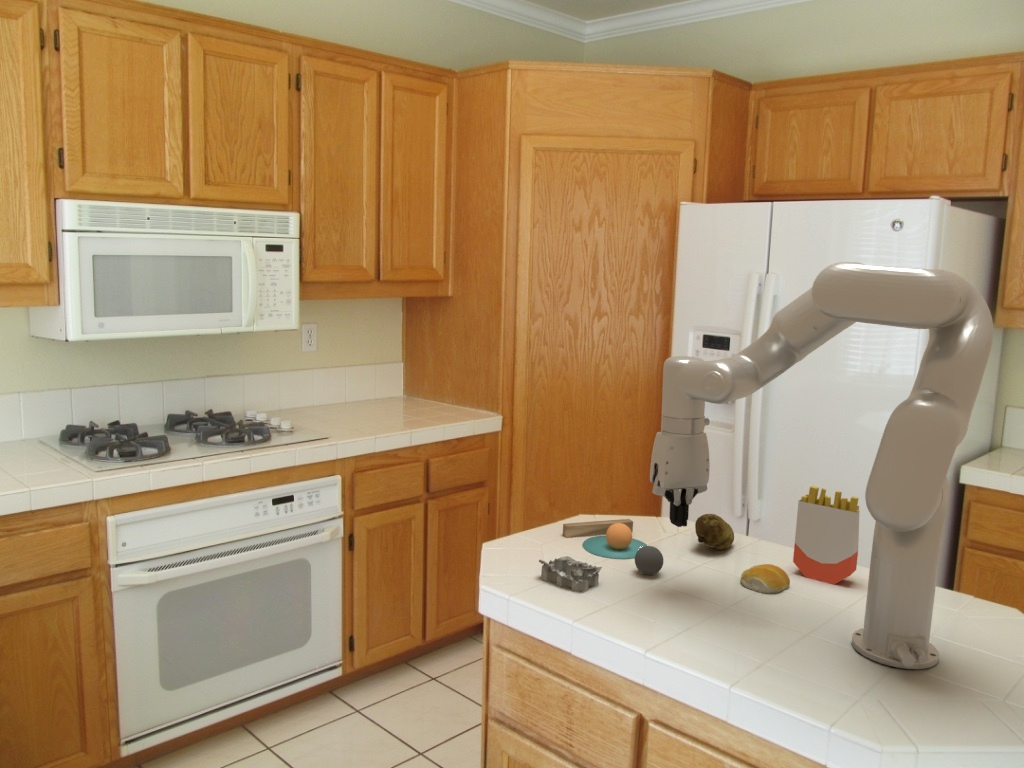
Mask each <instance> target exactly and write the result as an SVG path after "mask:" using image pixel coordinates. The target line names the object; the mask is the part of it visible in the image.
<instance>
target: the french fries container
mask: <svg viewBox="0 0 1024 768" xmlns="http://www.w3.org/2000/svg"><path fill="white" fill-rule="evenodd" d="M819 490H820V494H819ZM826 492H827V489H826V488H823V487H822V488H821V489H820V487H818V486H815V485H812V486H809V490H808V494H805V495H802V496H801V499H799V500H798V502H797V503H798V505H797V511H796V512H797V513H796V523H795V524H796V525H795V534H794V535H795V536H794V537H795V538H794V547H793V557H792V562H793V563H794V565H795V566H796V567H797V569H798V570H799V571H800V572H801V573H802V574H803V576H804V577H805V578H807V579H811V580H815V581H820V582H823V583H828V584H831V585H836V584H837V583H839V582H842V581H843V580H845V579H847V578H849V577H850V576H852V575H853V574H854V573H855V572H856V571H857V566H858V565H857V564H858V555H859V542H860V541H859V539H860V537H859V535H860V534H859V532H860V506H859V505H858V503H859V497H856V496H851V497H850V500H848V499H849V498H848V497H842V493H843V492H842V491H839V490H836V491H835V493H834V499H833V503H832V504H831V501H832V500H831V499H832V498H831V496H829V495H826V494H827V493H826ZM818 495H819V497H818Z"/></svg>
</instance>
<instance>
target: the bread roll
mask: <svg viewBox="0 0 1024 768" xmlns="http://www.w3.org/2000/svg"><path fill="white" fill-rule="evenodd" d="M740 583H741V584H742V586H743V585H744V586H743V587H744V588H746V587H747V589H748V588H749V590H751V589H752V590H751V591H753V590H754V591H755V592H757V591H758V592H757V593H760V592H763V593H762V594H777V593H780V592H782V591H784V590H786V589H788V588H789V586H790V585H791V580H790V577H789V575H788V573H787V572H786V571H785V570H784V569H783V568H782V567H779V566H777V565H774V564H771V563H770V564H769V563H763V564H758V565H753V566H752V567H750V568H748V569H746V570H744V571H743V572H742V573H741V576H740Z"/></svg>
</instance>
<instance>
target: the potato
mask: <svg viewBox="0 0 1024 768" xmlns="http://www.w3.org/2000/svg"><path fill="white" fill-rule="evenodd" d="M694 526H695V527H694V528H695V534H696V536H697V541H698V542H699V543H700V544H705V545H706V546H707V547H710V548H714V549H717V550H726V549H728V548H730V547H731V546H732V544H734V541H735V532H734V530H733V528H732V526H731V525H730V524H729V523H728V522H726V521H725V519H724V518H722V517H721V516H719V515H717V514H715V513H705V514H702V515H700V516H699V517H697V519H696V521H695V524H694Z"/></svg>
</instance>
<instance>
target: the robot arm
mask: <svg viewBox="0 0 1024 768" xmlns="http://www.w3.org/2000/svg"><path fill="white" fill-rule="evenodd" d="M855 323H862V324H869V325H871V324H872V325H879V326H887V327H888V326H890V327H894V328H895V327H897V328H905V329H912V330H913V329H914V330H928V333H929V335H928V340H927V344H926V347H925V350H924V352H923V354H922V358H921V360H920V364H919V369H918V372H917V375H916V377H915V381H914V382H913V383H914V384H913V386H912V389H911V391H910V394H909V395H908V397H907V398H906V399H904V400H903V401H902V402H900V403H899V404H898V405H897V406H896V407H895V408H894V409H893V410H892V412H891V414H890V415H889V418H888V419H887V421H886V424H885V427H884V430H883V433H882V436H881V439H880V441H879V445H878V449H877V452H876V455H875V458H874V461H873V464H872V468H871V470H870V474H869V476H868V479H867V483H866V487H865V494H864V495H865V496H864V497H865V498H864V499H865V504H866V507H867V511H868V512H869V514H870V515H871V517H872V518H873V520H874V521H875V523H874V530H873V535H872V545H871V555H870V564H869V571H868V572H869V573H868V581H867V593H866V602H865V610H864V611H865V612H864V620H863V622H864V623H863V628H860V629H858V630H856V631H854V632H853V633H852V634H851V645H852V647H853V648H854V650H855V651H856V652H858V653H860V655H862V656H864V657H865V658H867V659H869V660H871V661H874V662H876V663H879V664H881V665H882V664H883V665H885V666H888V667H893V668H898V669H903V670H904V669H905V670H924V669H928V668H932V667H934V666H935V665H937V663H938V662H939V656H940V654H939V653H940V652H939V650H938V649H937V647H936V646H934V645H933V643H931V642H930V637H931V628H932V623H933V622H932V621H933V611H934V603H935V597H936V586H937V577H938V569H939V563H940V554H941V548H942V547H941V546H942V541H943V540H942V539H943V532H944V526H945V522H946V521H945V520H946V517H947V516H946V515H947V510H948V506H949V505H948V504H949V497H950V486H949V479H948V478H947V477H948V476H947V475H948V472H949V469H950V466H951V464H952V460H953V458H954V456H955V453H956V450H957V447H959V445H960V444H961V443H962V442H963V440H964V438H966V435H967V432H968V429H969V424H970V420H971V416H972V413H973V409H974V406H975V403H976V400H977V398H978V394H979V391H980V388H981V384H982V381H983V378H984V375H985V371H986V368H987V365H988V361H989V359H990V355H991V350H992V348H993V347H992V346H993V340H994V322H993V316H992V313H991V310H990V308H989V306H988V303H987V301H986V299H985V298H984V297H983V295H982V294H981V293H980V292H979V291H978V289H977V288H976V287H974V285H972V284H971V283H970V282H969V281H967V280H966V279H965V278H963V277H962V276H961V275H959V274H957V273H955V272H952V271H949V270H944V269H939V268H938V269H936V268H935V269H927V268H916V267H915V268H913V267H911V268H910V267H898V266H883V265H871V264H865V263H862V262H855V261H854V262H853V261H852V262H851V261H840V262H835V263H833V264H830V265H828V266H826V267H825V268H824V269H822V270H821V271H820V272H819V273H818V275H817V276H816V277H815V279H814V281H813V283H812V287H810V288H809V289H808V290H806V291H805V292H803V293H802V294H801V295H799V296H798V297H797V298H795V299H793V301H790V303H789V304H788V303H787V305H785V306H784V307H783V308H780V310H778V311H777V312H776V313H775V314H774V316H773V317H772V319H771V324H770V326H769V327H768V329H767V330H766V331H765V332H764V333H763V334H762V335H761V336H760V337H759V338H757V339H756V340H755V341H754V342H752V343H750V344H749V345H748V346H746V347H745V348H743V349H742V350H740V351H739V352H738V353H736V354H734V356H730V357H725V358H721V359H716V360H706V361H705V360H704V359H702V358H700V357H695V356H687V355H686V356H683V355H682V356H677V355H676V356H669V357H668V358H666V360H664V362H663V370H662V390H661V391H662V393H661V394H662V397H661V423H660V424H661V425H660V427H661V428H660V431H657V432H656V434H655V438H654V442H653V447H652V452H651V457H650V458H651V459H650V460H651V461H650V467H649V481H650V483H651V484H652V486H653V487H652V490H651V493H652V494H654V495H655V496H660V497H664V498H665V499H666V500H667V503H669V521H670V523H671V524H672V525H674V526H676V527H677V528H682V527H687V526H688V520H689V512H690V511H689V509H690V505H691V504H692V503H693V500H694V499H695V497H696V496H697V495H698V494H701V493H704V492H705V493H706V491H707V490H708V483H709V481H710V465H711V464H710V450H709V448H710V447H709V441H708V436H707V433H706V432H705V431H704V430H705V426H709V425H710V419H709V418H708V417H706V416H705V408H706V403H710V404H716V405H722V404H723V405H724V404H728V403H730V402H734V401H736V400H739V399H743V398H746V397H749V396H750V395H753V394H754V393H756V392H758V390H760V389H762V388H763V387H764V386H766V385H768V384H769V383H771V382H772V381H774V380H776V378H778V377H780V376H781V375H783V374H784V373H785V372H787V371H788V370H789V369H790V368H792V367H794V366H795V365H797V363H799V362H801V361H802V360H803V359H805V358H806V357H807V356H808V355H810V354H812V353H813V352H814V351H816V350H817V349H818V348H820V347H822V346H823V345H824V344H826V343H827V342H828V341H830V340H831V339H833V338H835V337H836V336H838V335H839V334H840V333H841V332H844V331H845V330H846V329H848V328H850V327H851V326H852V325H854V324H855Z"/></svg>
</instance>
